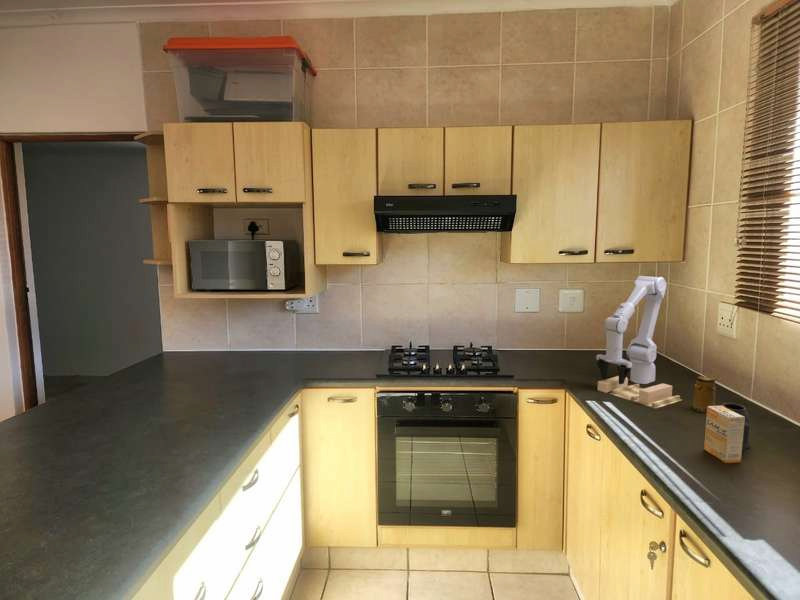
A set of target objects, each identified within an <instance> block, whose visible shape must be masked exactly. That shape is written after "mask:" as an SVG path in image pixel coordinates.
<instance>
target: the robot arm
mask: <svg viewBox="0 0 800 600" xmlns="http://www.w3.org/2000/svg"><path fill="white" fill-rule="evenodd" d="M633 285H634V288H633V290H632V291H631V293H630V295H629V297H628V298H627V299H626V302H622V303H620V305H619V306H618V307H617V309H616V310H615V311H614V312H613V314H612V315H611V316H609V317H607V318H606V319H605V320H604V323H603V329H604V330H605V331H604V332H605V336H606V347H605V354H600V353H599V354H596V364H597V367H598V368H599V371H600V375H601V379H602V380H606V379H608V373H609V366H610V363H611V364H614V365H618V366H617V371H618V376H619V384H624V381H625V378H626V377H627V376H628V374H629V372H630V375H629V376H630V378H629V381H630V382H631V383H634V384H643V385H645V384H650V383H653V382H655V381H656V365H655V363H654V362H655V360H656V358H657V350H658V349H657V348H658V346H657V344H655V342H654V341H653V340H652V339H653V336H654V331H655V327H656V325H657V324H656V323H657V319H658V316H659V311H660V307H661V303H662V300H663V299H664V297H665V293H666V290H667V282H666V280H665V278H664V277H663V276H648V275H647V276H644V275H639V276H638V277H636V279H635V281H634V284H633ZM643 298H645V300H646V301H645V305H644V309H643V312H642V317H641V321H640V325H639V330H638V333H637V336H636V337H635V338H632V339H631V340H630V343H629V344H628V347H627V349H626V356H627V358H628V359H629V360H627V359H624V358H623V340H624V333H625V332H626V330H627V328H628V323H629V319H631V317H632V316H633V315H634V314H635V311H636V310H635V307H636V306H637V305H638V303H640V301H642V299H643Z"/></svg>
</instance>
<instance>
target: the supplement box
mask: <svg viewBox="0 0 800 600" xmlns="http://www.w3.org/2000/svg"><path fill="white" fill-rule="evenodd" d="M744 421H745V417H744V416H742V415H740V414H738V413H736V412H734V411H732V410H730V409H727V408H725V407H724V406H722V405H715V406H708V407H707V413H706V419H705V430H704V431H705V432H704V434H705V435H704V445H703V446H704V447H703V449H704V451H705V450H706V452H707V453H709V454H711V455H712V456H714V457H716V458H717V459H719V460H721V461H722V462H723V463H725V464H734V463H741V462H742V452H743V450H742V443H743V432H744Z"/></svg>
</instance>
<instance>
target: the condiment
mask: <svg viewBox="0 0 800 600" xmlns="http://www.w3.org/2000/svg"><path fill="white" fill-rule="evenodd" d="M715 382H716V380H715V378H713V377H710V376H706V375H705V376H702V375H701V376H700V375H699V376H697V377H696V382H695V383H696V384H695V385H694V391H693V392H694V394H693V406H692V407H693V409H694V410H695V411H697V412H701V413H706V414H707V407H708V406H716V386H715V385H716V383H715Z"/></svg>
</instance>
